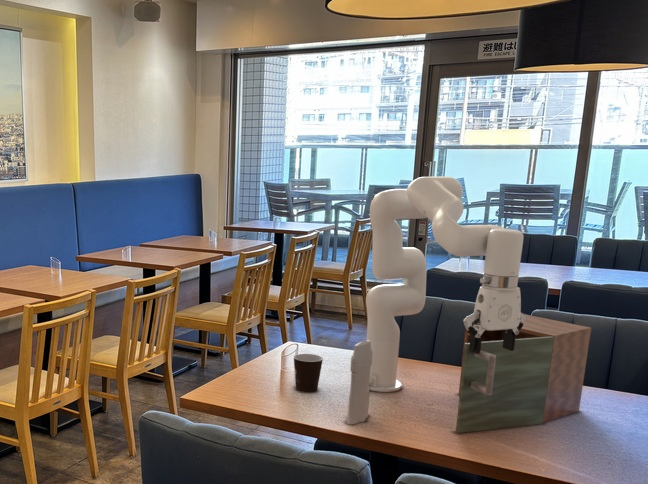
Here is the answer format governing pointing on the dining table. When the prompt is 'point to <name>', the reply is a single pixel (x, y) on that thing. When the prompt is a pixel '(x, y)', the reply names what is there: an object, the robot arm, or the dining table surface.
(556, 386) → the cupboard
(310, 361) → the coffee mug
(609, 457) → the dining table surface
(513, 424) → the cupboard door
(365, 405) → the tall pale column
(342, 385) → the dining table surface
